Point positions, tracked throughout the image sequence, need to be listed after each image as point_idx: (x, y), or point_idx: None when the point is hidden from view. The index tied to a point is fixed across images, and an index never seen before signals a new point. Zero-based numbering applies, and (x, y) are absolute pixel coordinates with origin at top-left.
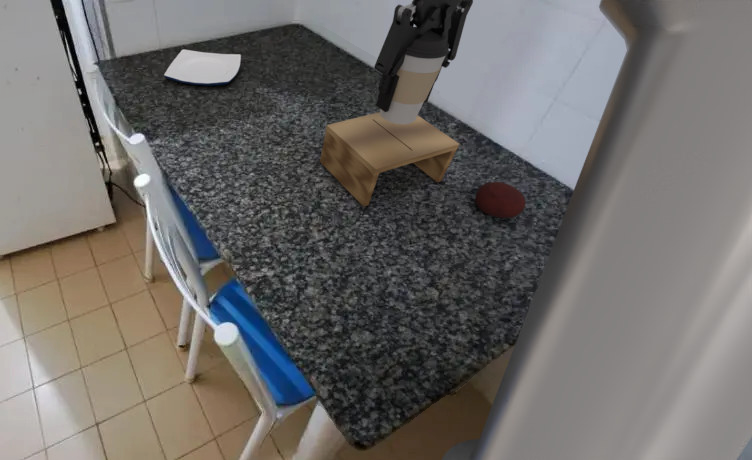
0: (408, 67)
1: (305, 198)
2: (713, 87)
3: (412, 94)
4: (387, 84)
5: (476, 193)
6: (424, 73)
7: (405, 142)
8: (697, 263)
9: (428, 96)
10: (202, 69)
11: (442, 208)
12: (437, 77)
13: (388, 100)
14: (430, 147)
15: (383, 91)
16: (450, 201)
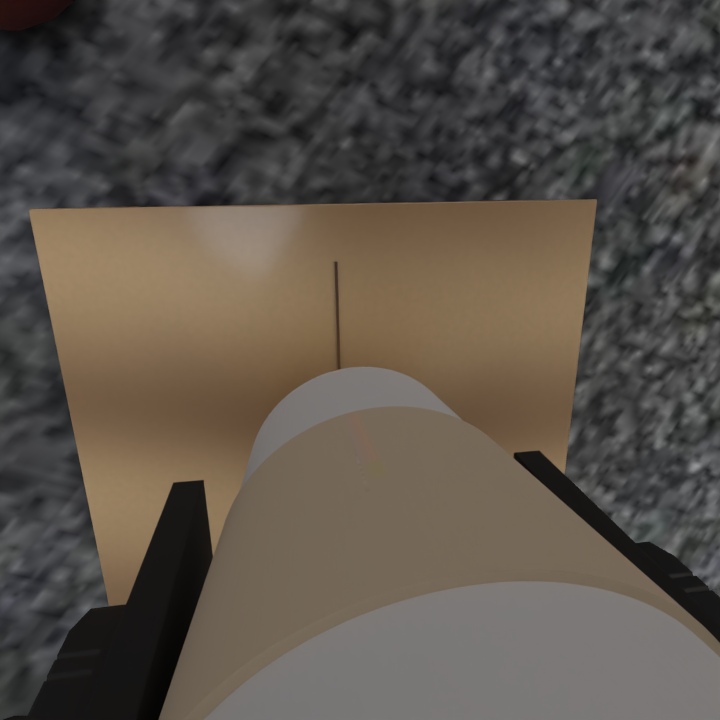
0: None
1: (632, 313)
2: None
3: (501, 457)
4: (700, 599)
5: (58, 9)
6: (607, 578)
7: (321, 332)
8: None
9: (175, 505)
10: None
11: (226, 61)
12: (67, 644)
13: (584, 495)
14: (224, 246)
15: (672, 557)
16: (163, 82)
